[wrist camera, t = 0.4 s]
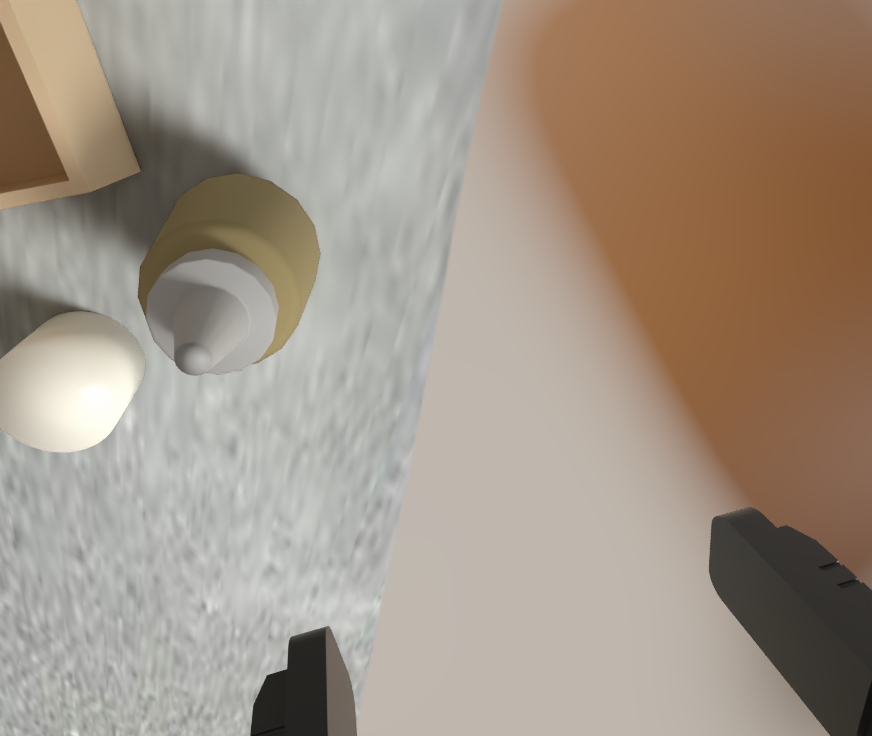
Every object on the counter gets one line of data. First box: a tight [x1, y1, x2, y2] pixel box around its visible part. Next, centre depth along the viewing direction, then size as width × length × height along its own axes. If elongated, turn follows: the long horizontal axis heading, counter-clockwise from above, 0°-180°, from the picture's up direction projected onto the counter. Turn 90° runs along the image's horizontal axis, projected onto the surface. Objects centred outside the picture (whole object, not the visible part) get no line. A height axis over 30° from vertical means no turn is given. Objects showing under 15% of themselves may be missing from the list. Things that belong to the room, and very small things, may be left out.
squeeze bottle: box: [138, 173, 320, 376], centre depth 26 cm, size 8×8×18 cm
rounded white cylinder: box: [0, 311, 146, 452], centre depth 33 cm, size 6×6×6 cm
